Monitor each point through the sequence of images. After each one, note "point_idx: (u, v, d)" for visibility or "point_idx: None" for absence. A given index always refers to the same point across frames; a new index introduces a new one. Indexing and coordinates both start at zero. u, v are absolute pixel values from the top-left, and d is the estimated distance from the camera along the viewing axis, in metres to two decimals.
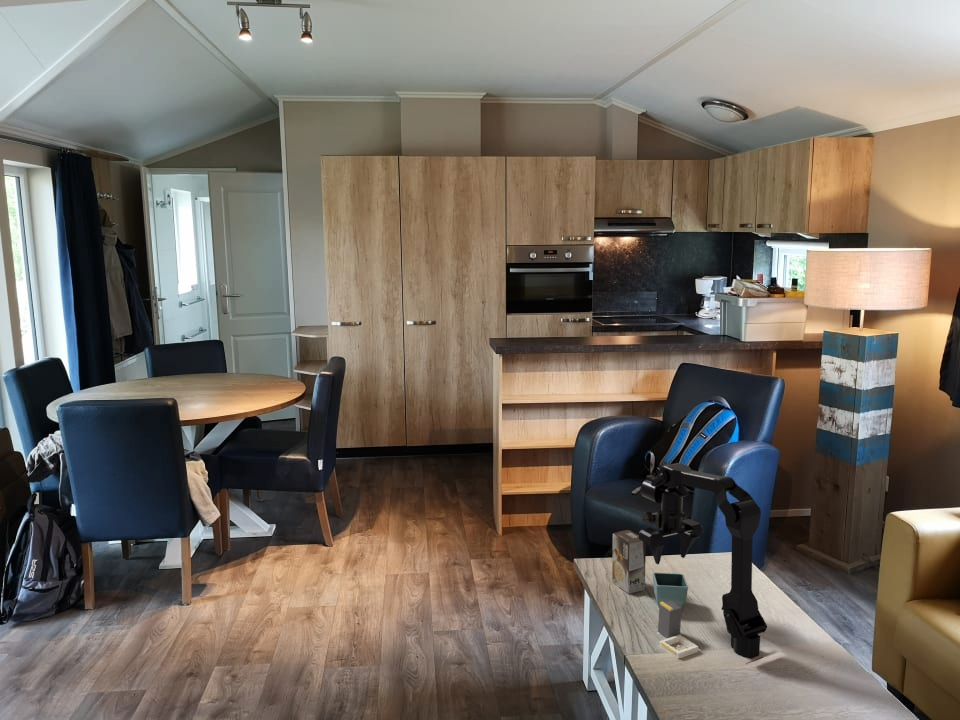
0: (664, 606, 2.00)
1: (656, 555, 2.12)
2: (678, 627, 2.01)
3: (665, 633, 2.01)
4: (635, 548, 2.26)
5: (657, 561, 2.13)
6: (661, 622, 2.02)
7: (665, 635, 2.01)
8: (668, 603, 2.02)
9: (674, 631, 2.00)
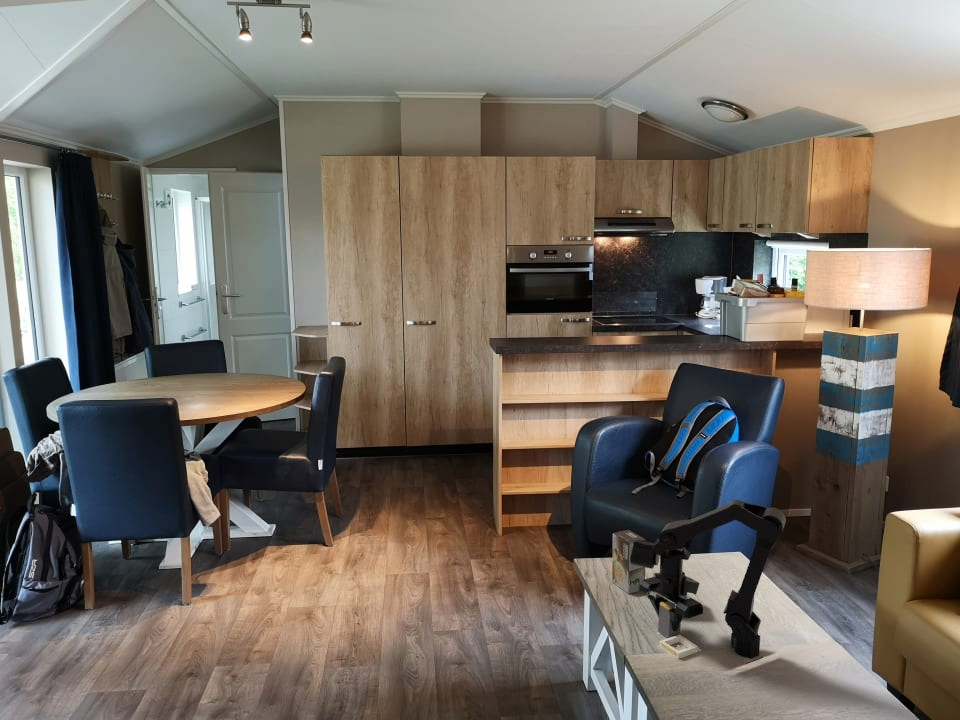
0: (664, 606, 2.00)
1: None
2: (678, 627, 2.01)
3: (665, 633, 2.00)
4: None
5: None
6: (661, 622, 2.02)
7: (665, 635, 2.01)
8: (668, 603, 2.02)
9: (674, 631, 2.00)
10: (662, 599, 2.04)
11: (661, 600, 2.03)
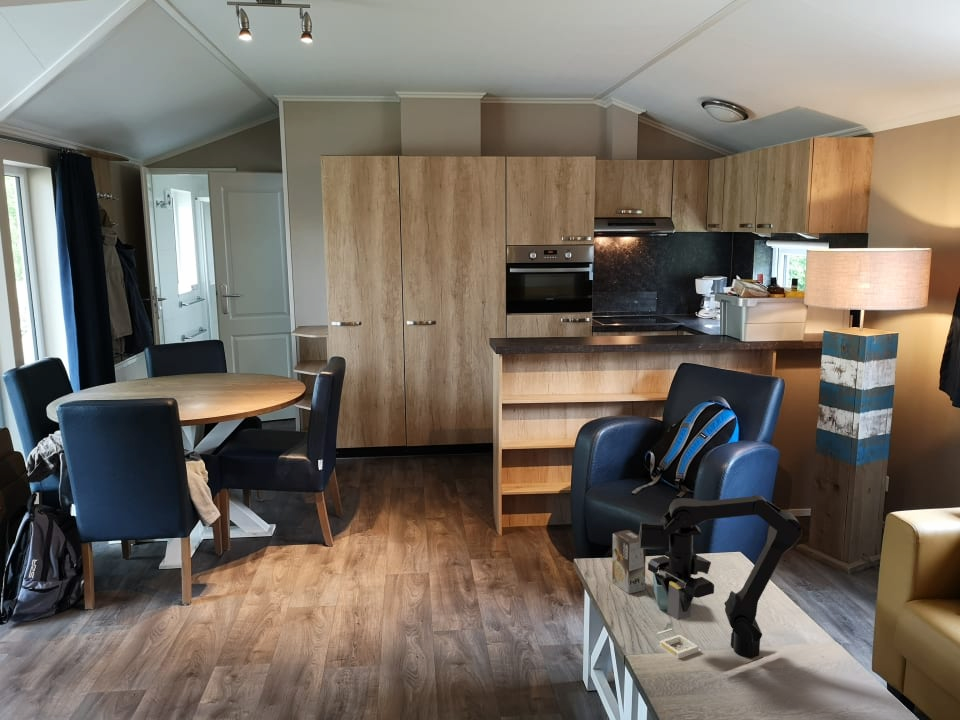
0: (673, 586, 1.92)
1: None
2: None
3: (675, 613, 1.93)
4: (635, 548, 2.26)
5: None
6: (670, 603, 1.94)
7: (675, 616, 1.93)
8: (678, 583, 1.94)
9: (684, 612, 1.92)
10: (671, 579, 1.96)
11: (671, 580, 1.96)
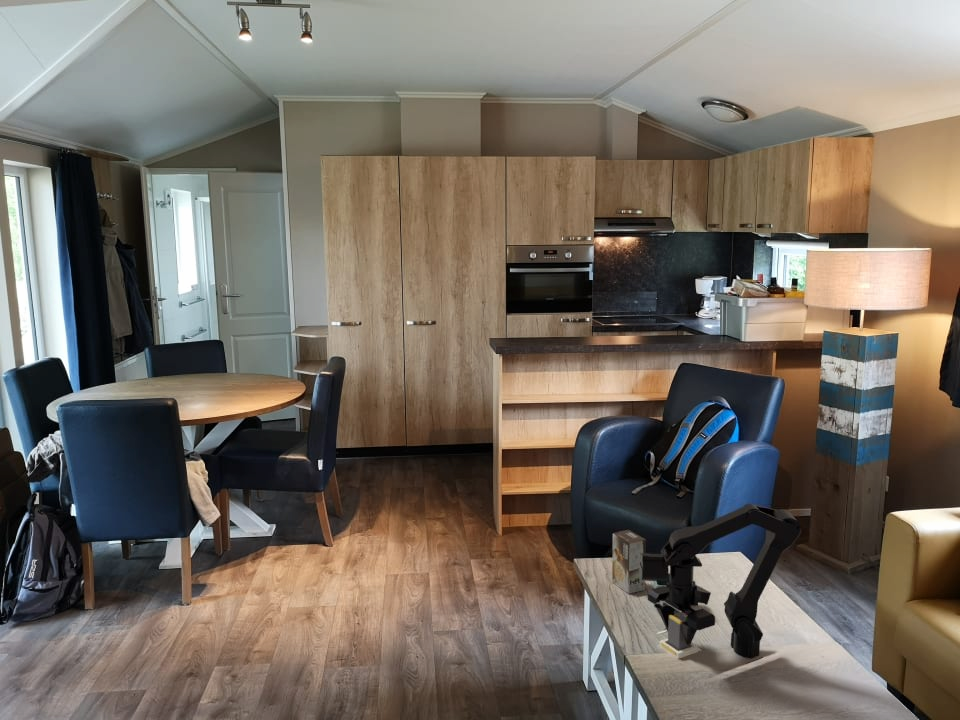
0: (673, 619, 1.93)
1: None
2: None
3: (675, 647, 1.93)
4: (635, 548, 2.26)
5: None
6: (671, 637, 1.94)
7: None
8: (677, 616, 1.95)
9: (684, 646, 1.93)
10: (669, 608, 1.97)
11: (668, 609, 1.97)
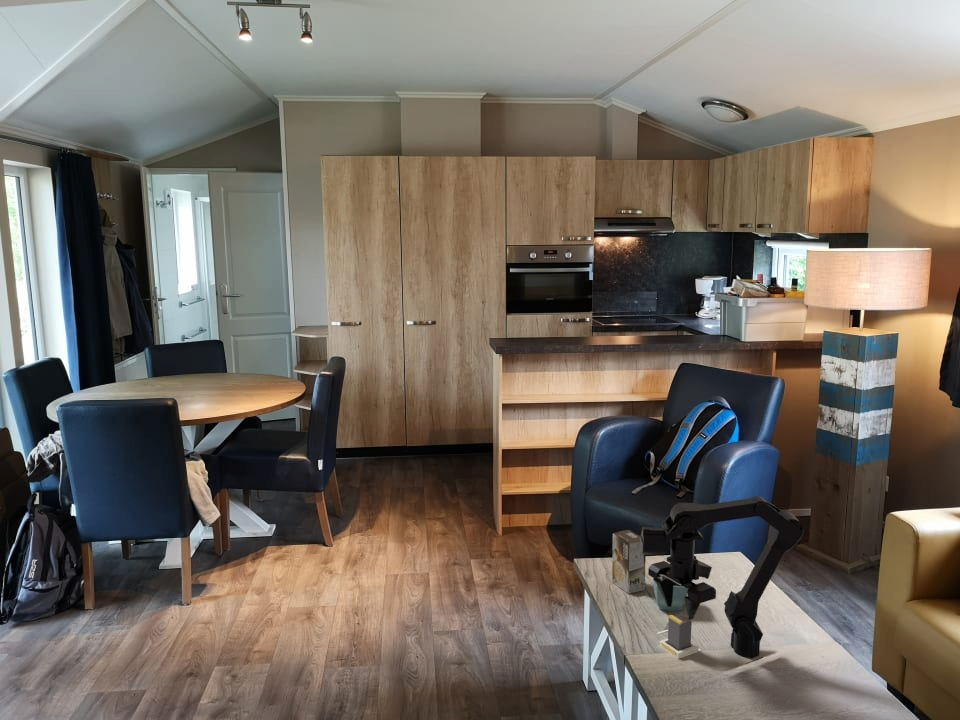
0: (673, 619, 1.93)
1: None
2: (688, 641, 1.93)
3: (675, 647, 1.93)
4: (635, 548, 2.26)
5: None
6: (671, 637, 1.94)
7: None
8: (677, 616, 1.95)
9: (684, 646, 1.93)
10: (668, 582, 1.96)
11: (667, 582, 1.96)
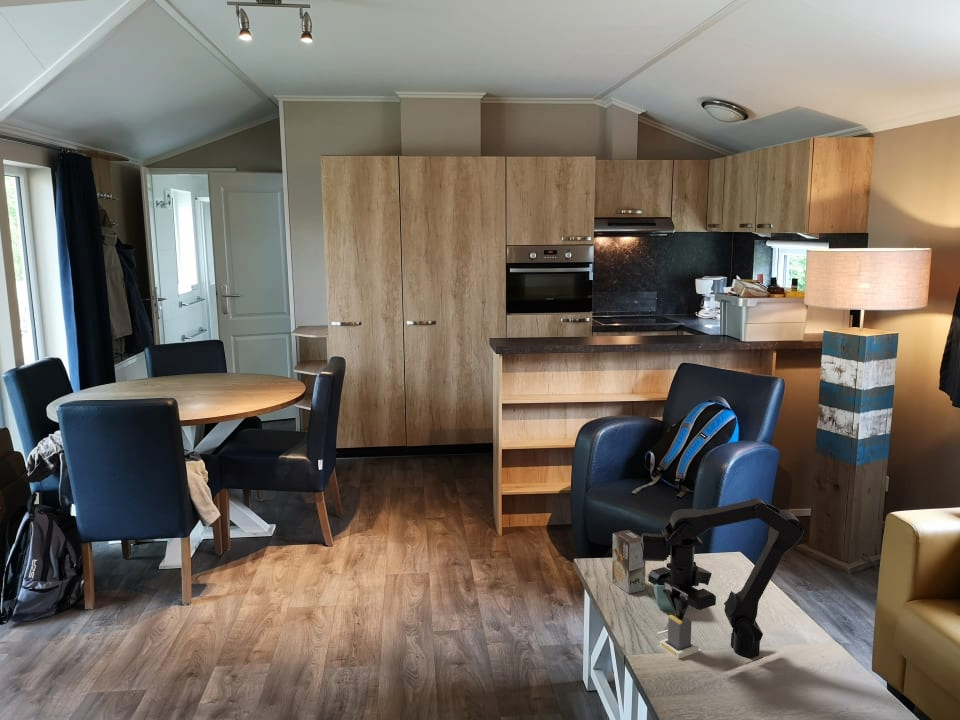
0: (673, 619, 1.93)
1: None
2: (688, 641, 1.93)
3: (675, 647, 1.93)
4: (635, 548, 2.26)
5: None
6: (671, 637, 1.94)
7: None
8: None
9: (684, 646, 1.93)
10: (678, 594, 1.93)
11: (677, 594, 1.93)
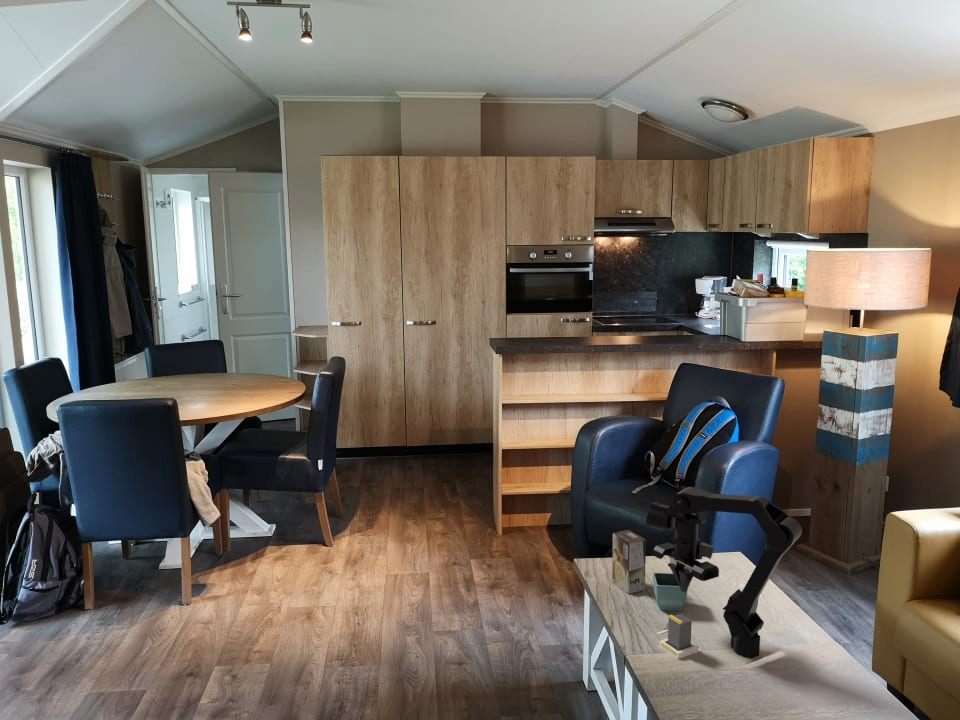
0: (673, 619, 1.93)
1: None
2: (688, 641, 1.93)
3: (675, 647, 1.93)
4: (635, 548, 2.26)
5: None
6: (671, 637, 1.94)
7: None
8: (677, 616, 1.95)
9: (684, 646, 1.93)
10: (682, 567, 2.02)
11: (682, 568, 2.02)
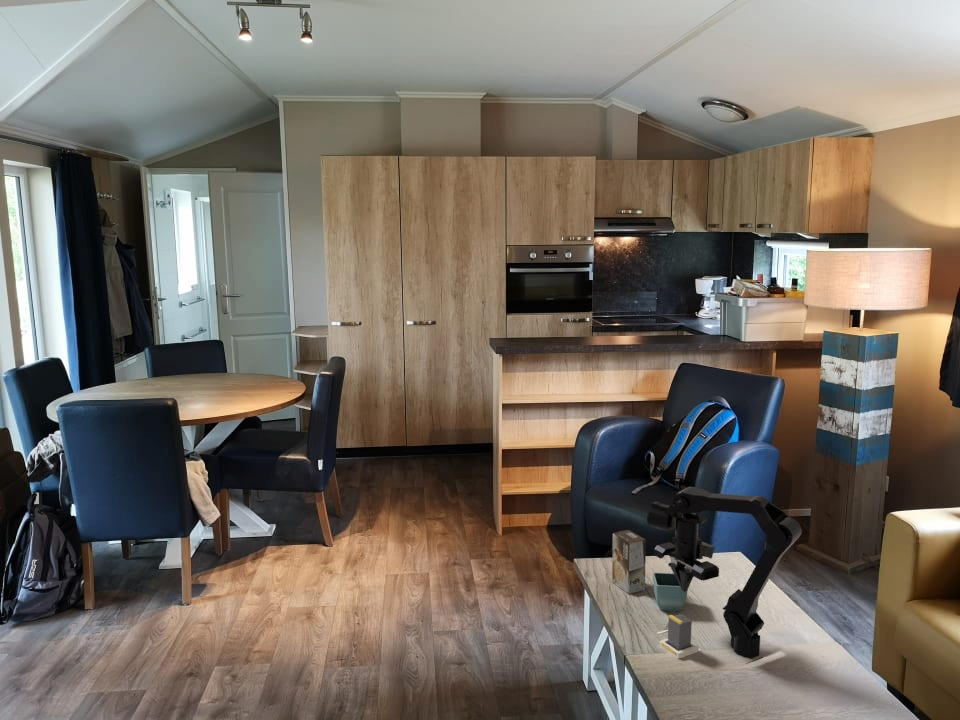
0: (673, 619, 1.93)
1: None
2: (688, 641, 1.93)
3: (675, 647, 1.93)
4: (635, 548, 2.26)
5: None
6: (671, 637, 1.94)
7: None
8: (677, 616, 1.95)
9: (684, 646, 1.93)
10: (683, 567, 2.03)
11: (682, 567, 2.02)
